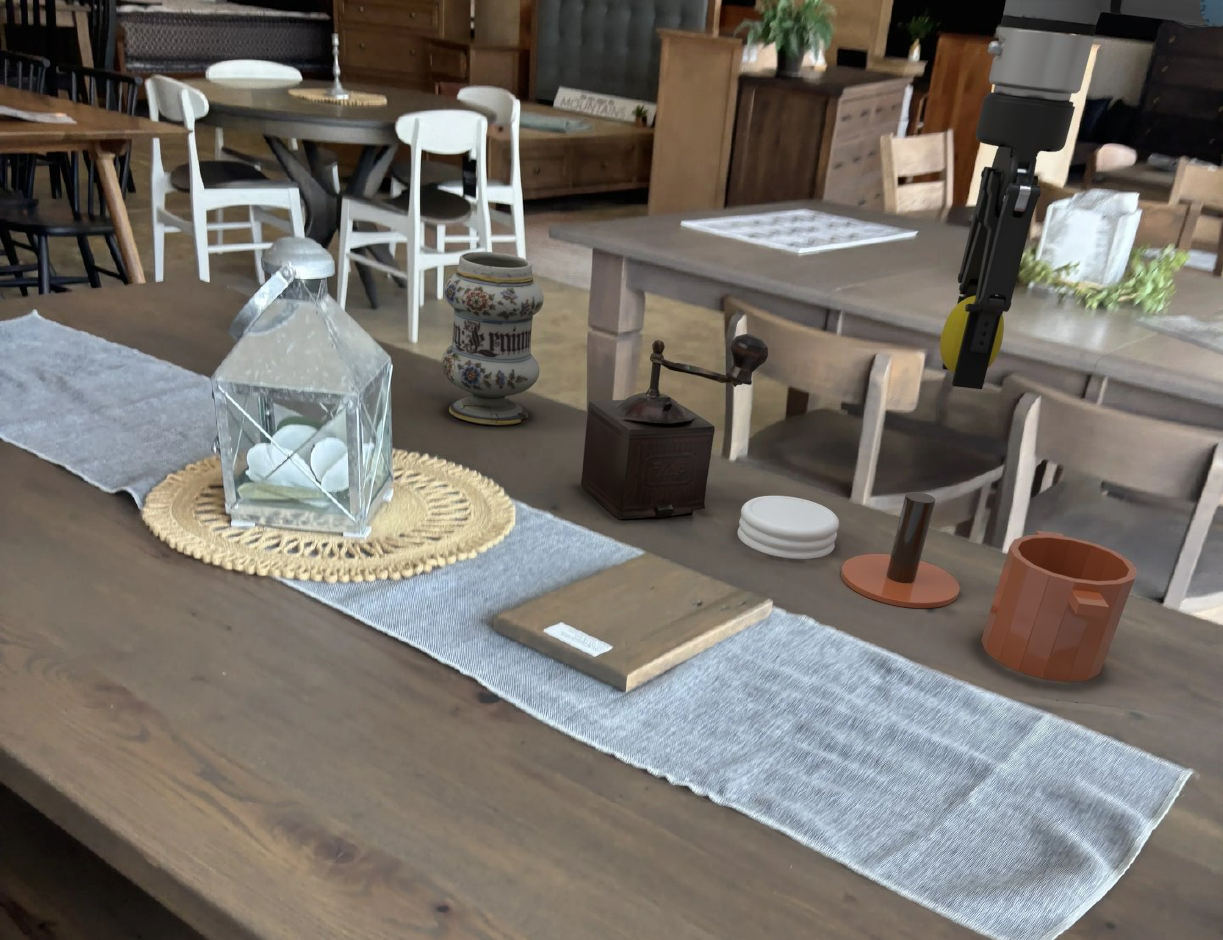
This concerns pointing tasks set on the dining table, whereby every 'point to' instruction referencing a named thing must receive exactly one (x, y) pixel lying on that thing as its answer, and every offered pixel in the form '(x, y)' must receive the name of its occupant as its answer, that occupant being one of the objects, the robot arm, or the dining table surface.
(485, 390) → the apothecary jar
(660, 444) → the coffee grinder
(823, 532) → the white stacked discs
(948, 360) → the lemon
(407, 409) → the dining table surface
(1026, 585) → the pot
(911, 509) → the lid
